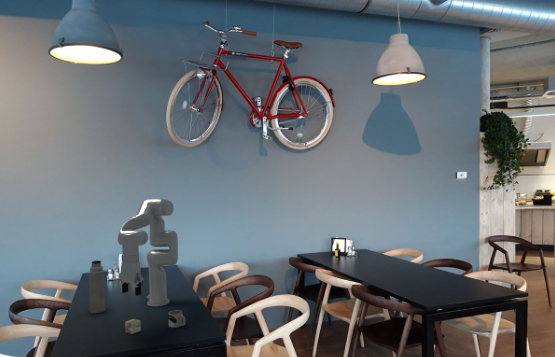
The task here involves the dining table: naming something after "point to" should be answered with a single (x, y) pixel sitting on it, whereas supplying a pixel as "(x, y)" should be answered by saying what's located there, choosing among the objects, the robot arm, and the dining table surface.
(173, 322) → the mug
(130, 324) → the birch cube
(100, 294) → the thermos bottle
